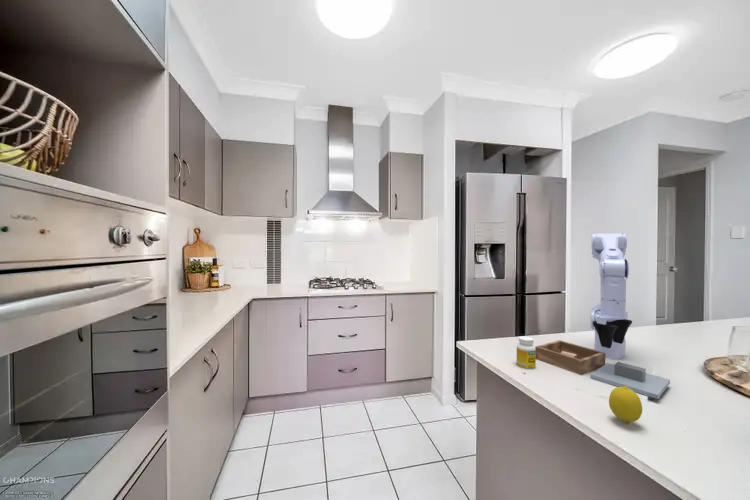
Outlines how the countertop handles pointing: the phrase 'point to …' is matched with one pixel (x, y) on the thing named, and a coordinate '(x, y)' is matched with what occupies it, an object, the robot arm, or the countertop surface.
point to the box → (580, 365)
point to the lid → (632, 379)
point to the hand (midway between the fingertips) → (612, 344)
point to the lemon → (625, 404)
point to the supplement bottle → (526, 353)
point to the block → (569, 354)
